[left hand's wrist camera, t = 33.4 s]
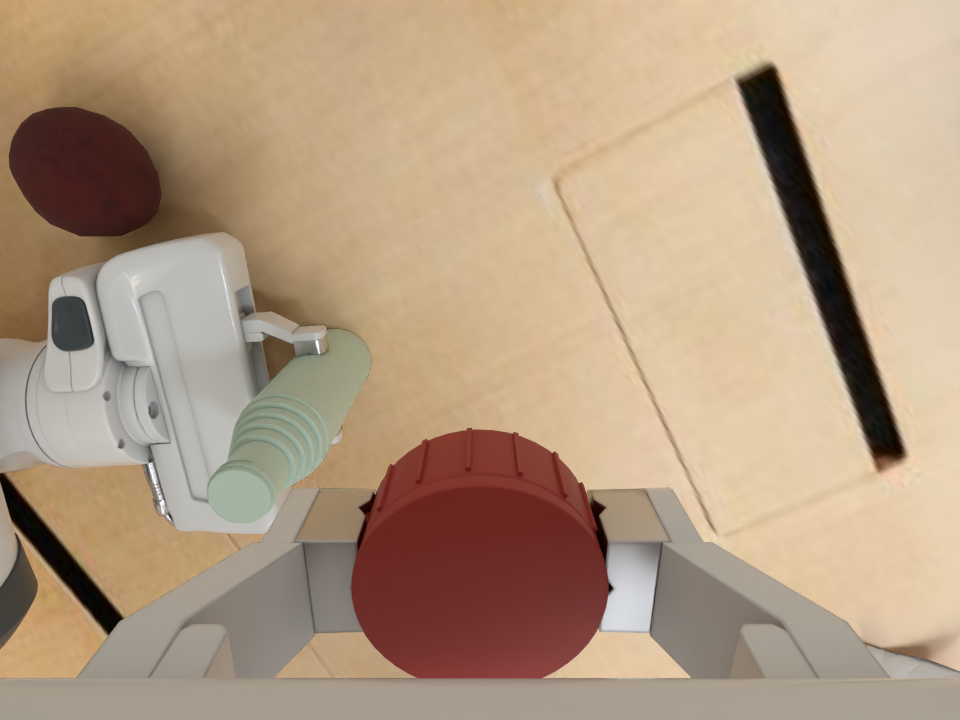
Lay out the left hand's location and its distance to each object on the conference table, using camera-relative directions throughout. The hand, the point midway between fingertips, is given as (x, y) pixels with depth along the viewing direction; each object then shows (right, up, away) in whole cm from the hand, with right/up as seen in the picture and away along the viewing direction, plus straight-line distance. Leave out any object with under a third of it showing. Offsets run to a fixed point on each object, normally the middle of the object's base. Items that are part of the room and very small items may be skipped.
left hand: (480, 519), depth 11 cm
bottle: (-10, +3, +31) cm, 33 cm away
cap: (0, -1, -2) cm, 2 cm away
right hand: (-10, +1, +26) cm, 28 cm away
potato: (-24, +15, +27) cm, 39 cm away
